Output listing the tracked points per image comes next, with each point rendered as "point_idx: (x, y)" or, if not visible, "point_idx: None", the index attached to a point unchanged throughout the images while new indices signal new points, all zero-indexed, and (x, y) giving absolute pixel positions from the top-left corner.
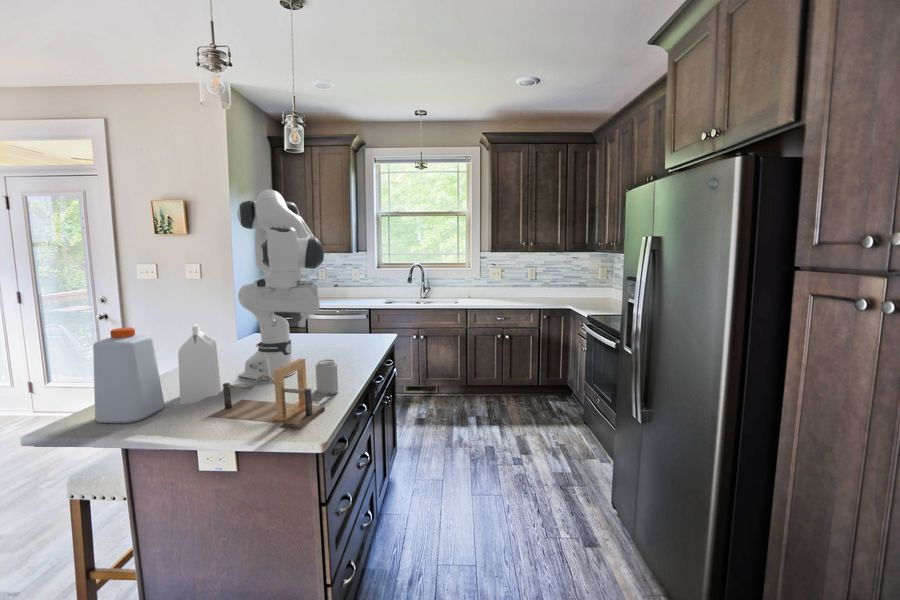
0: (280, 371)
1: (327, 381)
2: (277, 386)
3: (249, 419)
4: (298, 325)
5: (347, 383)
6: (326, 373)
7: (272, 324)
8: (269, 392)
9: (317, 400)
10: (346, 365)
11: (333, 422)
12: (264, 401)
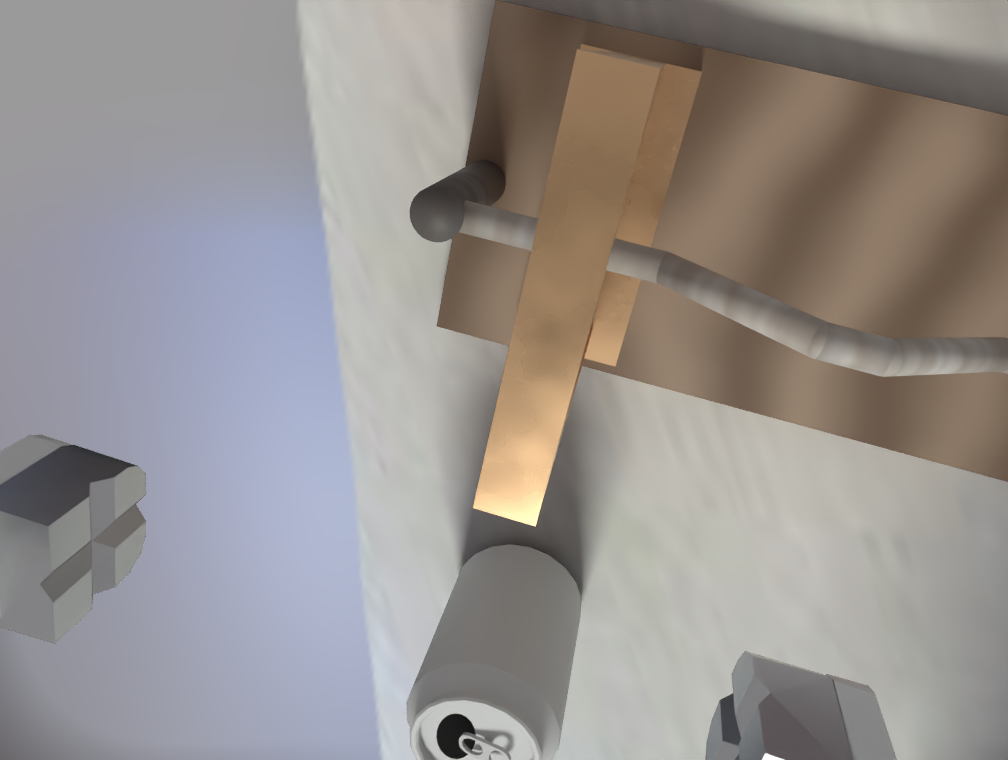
0: (576, 58)
1: (478, 597)
2: (634, 59)
3: (891, 105)
4: (111, 473)
5: None
6: (468, 635)
7: (813, 688)
8: (912, 657)
9: None
10: None
11: (327, 121)
12: (881, 443)
